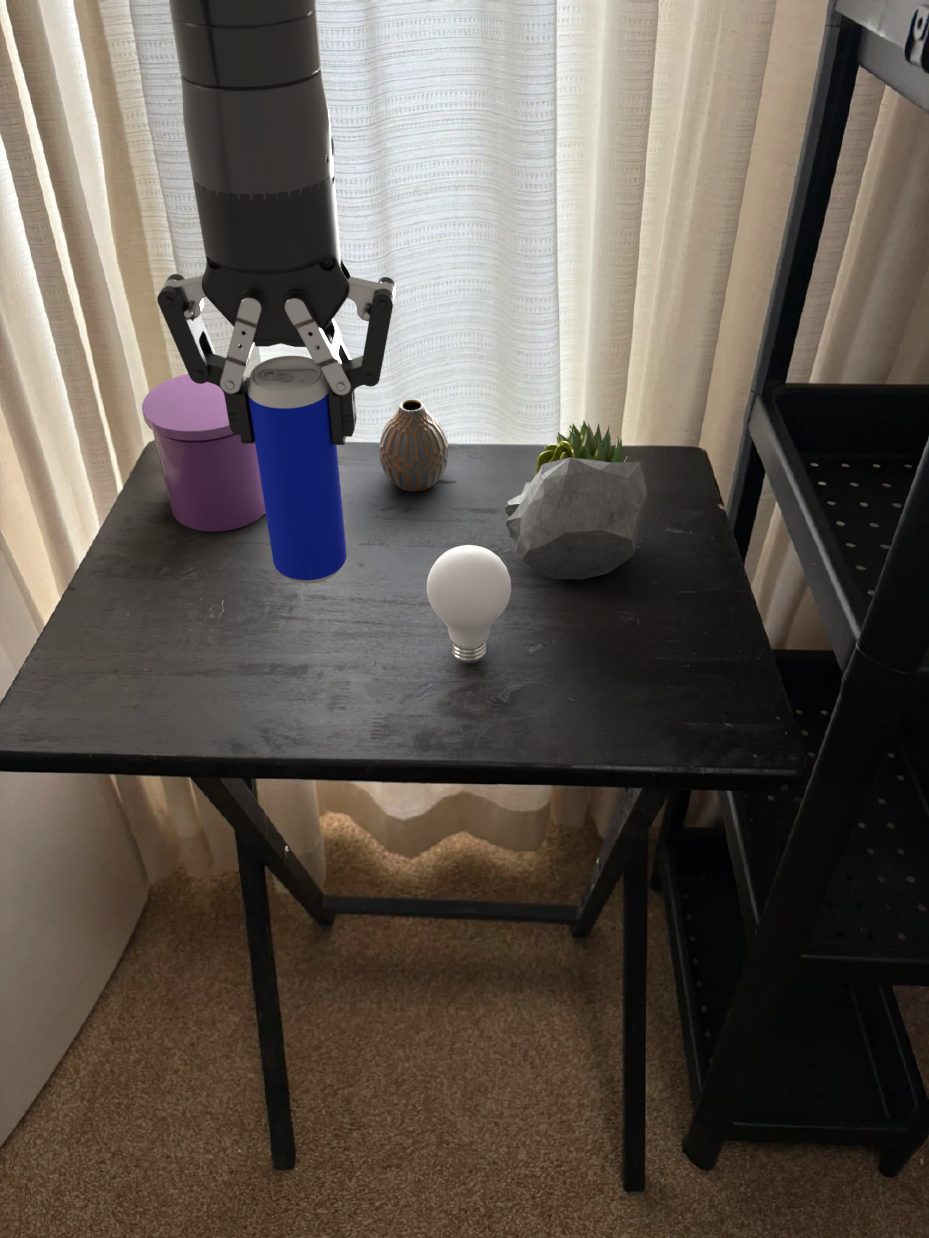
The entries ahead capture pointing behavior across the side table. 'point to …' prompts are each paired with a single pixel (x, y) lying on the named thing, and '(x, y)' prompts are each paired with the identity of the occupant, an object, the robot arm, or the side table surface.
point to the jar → (203, 457)
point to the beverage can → (298, 467)
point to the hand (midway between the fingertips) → (295, 437)
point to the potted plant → (578, 507)
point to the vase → (413, 447)
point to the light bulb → (468, 597)
